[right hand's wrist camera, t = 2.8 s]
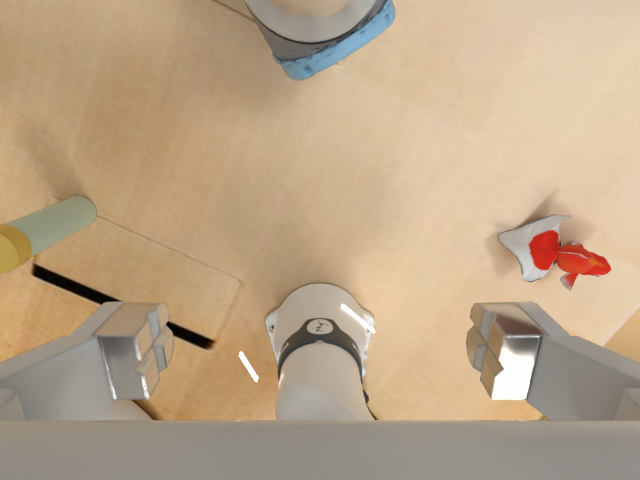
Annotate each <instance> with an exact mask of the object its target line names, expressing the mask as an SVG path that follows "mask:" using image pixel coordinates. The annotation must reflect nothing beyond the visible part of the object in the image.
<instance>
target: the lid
mask: <svg viewBox="0 0 640 480" xmlns="http://www.w3.org/2000/svg"><path fill="white" fill-rule="evenodd" d="M31 254H32V247H31V244H30V241H29V240H28V238H27V237H26V235H25V234H24V233H23V232H21V231H20V230H18V229H17V228H15V227H13V226H9V225H0V273H7V272H10V271H11V270H13V269H15V268H17V267H19V266H20V265H22V264H24V263H25V262H27V261H28V260H29V258H30V257H31Z"/></svg>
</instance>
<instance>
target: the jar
mask: <svg viewBox="0 0 640 480" xmlns="http://www.w3.org/2000/svg"><path fill="white" fill-rule="evenodd" d="M96 216H97V211H96V208H95V206H94V204H93V203H92V202H91V201H90V200H89V199H87V198H85V197H82V196H73V197H70V198H68V199H66V200H63V201H61V202H58V203H56V204H53V205H51V206H48V207H46V208H44V209H41V210H39V211H36V212H34V213H31V214H29V215H26V216H24V217H21V218H19V219H17V220H14V221H12V222H9V223H7V224H4V225H9V226H13V227H15V228H17V229H18V230H20V231H21V232H23V233H24V234H25V235H26V237H27V238H28V240H29V241H30V244H31V247H32V254H31V257H32V256H34V255H36V254H37V253H39V252H41V251H43V250H45V249H46V248H48V247H50V246H52V245H54V244H55V243H57V242H59V241H61V240H63V239H64V238H66V237H68V236H70V235H71V234H73V233H75V232H77V231H79V230H80V229H82V228H84V227H86V226H88V225H89V224H91V223H93V222H94V220H95V219H96Z"/></svg>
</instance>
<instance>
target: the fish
mask: <svg viewBox="0 0 640 480" xmlns="http://www.w3.org/2000/svg"><path fill="white" fill-rule="evenodd" d="M569 217H571V216H565V215H551V216H548V217H544V218H541V219H537V220H535V221H532V222H530V223H528V224H526V225H523V226H521V227H519V228H517V229H513V230H509V231H506V232H503V233H500V234H499V235H498V240H499V241H500V242H501V243H502V244H503V245H504V246H505V247H506V248H507V249H508V250H509V251H511V252H512V253H513V254H514V255H515V256H516V258H517V259H518V261H519V263H520V266H521V271H522V280H524V281H528V282H533V281H536V280H538V279H540V278H542V277H543V276H544V275H545V274H546V273H547V272H548V271H549V270H550V269H551V268H552V266H553V265H554V264H555V263H556V261H557V265H558V266H559V268H560V269H562V270H563V271H565V272H568V273H566V274H565V275H564V276H563V277H561V282H562V284H563V285H564V286H565V287H566V288H567V289H569V290H571V288H572V286H573V284H574V282H575V280H576V278H577V276H578V274H582V275H593V276H601V275H604V274H607V273H608V272H609V271H610V270H611V267H610V265H609V264H608V262H607V260H606V259H605V258H604V257H603V256H599V255H597V254H595V253H592V252H589V251H587V250H586V249H584V248H583V245H582V244H580V243H578V242H577V241H573V242H571V245H565V246H562V247H561V248H560V246H561V242H560V236H559V230H560V223H561V222H562V221H563V220H565V219H567V218H569Z"/></svg>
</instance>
